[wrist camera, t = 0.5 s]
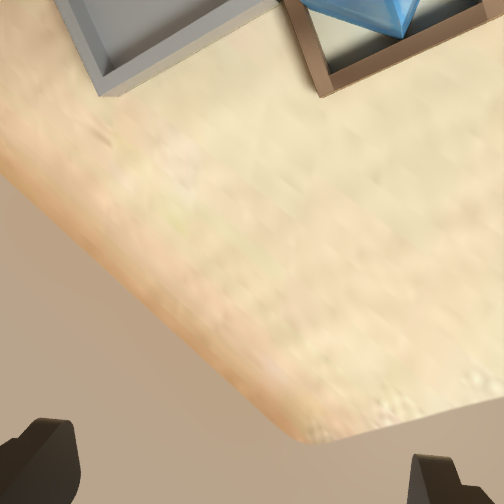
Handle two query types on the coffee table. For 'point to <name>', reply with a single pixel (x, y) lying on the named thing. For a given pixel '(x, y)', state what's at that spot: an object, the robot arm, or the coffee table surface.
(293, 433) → the coffee table surface
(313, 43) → the walnut collar
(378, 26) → the perfume bottle
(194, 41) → the grey tray
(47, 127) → the coffee table surface
